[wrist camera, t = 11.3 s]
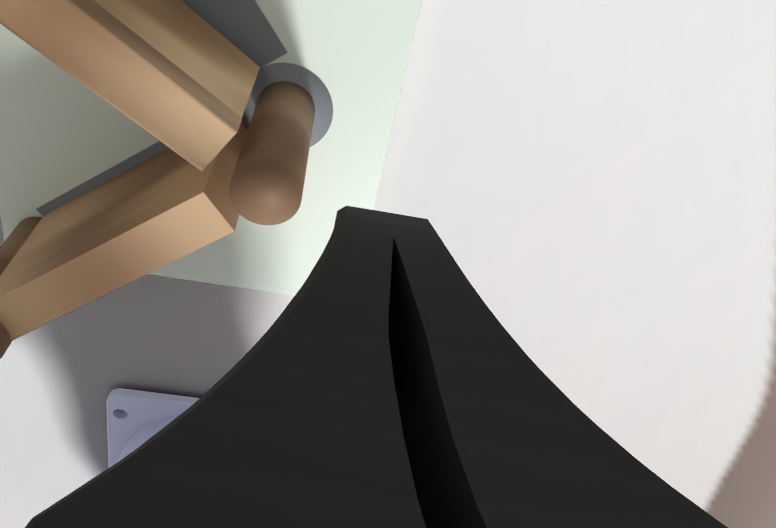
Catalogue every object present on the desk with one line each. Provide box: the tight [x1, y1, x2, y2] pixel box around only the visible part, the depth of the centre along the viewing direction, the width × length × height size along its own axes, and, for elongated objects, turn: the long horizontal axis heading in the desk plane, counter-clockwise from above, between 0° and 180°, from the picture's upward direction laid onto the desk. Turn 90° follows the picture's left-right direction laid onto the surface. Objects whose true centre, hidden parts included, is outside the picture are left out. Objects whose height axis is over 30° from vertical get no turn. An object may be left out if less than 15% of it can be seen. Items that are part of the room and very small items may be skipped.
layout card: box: [0, 0, 422, 296], centre depth 18 cm, size 16×11×1 cm
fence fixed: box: [0, 81, 315, 359], centre depth 18 cm, size 2×10×5 cm, turn 118°
